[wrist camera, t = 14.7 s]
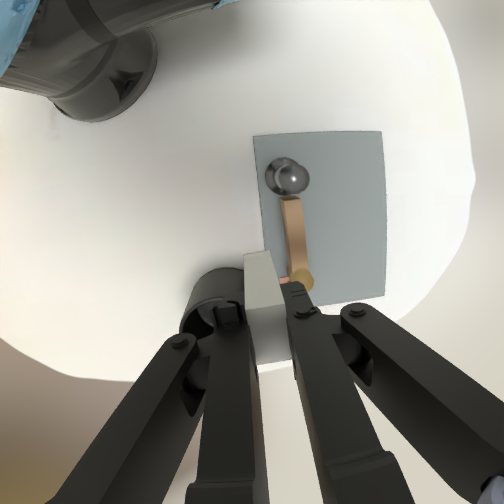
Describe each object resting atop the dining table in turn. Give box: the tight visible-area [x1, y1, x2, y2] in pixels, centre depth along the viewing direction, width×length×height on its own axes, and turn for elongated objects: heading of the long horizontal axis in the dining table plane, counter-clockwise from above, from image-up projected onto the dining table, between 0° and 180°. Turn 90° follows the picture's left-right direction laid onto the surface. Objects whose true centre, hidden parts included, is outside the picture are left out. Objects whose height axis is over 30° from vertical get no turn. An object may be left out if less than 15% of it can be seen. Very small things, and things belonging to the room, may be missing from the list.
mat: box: [253, 131, 387, 307], centre depth 36 cm, size 22×16×1 cm
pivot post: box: [265, 158, 310, 196], centre depth 30 cm, size 4×4×8 cm
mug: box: [179, 268, 245, 340], centre depth 34 cm, size 9×12×9 cm
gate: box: [280, 196, 314, 292], centre depth 32 cm, size 10×2×4 cm, turn 8°
